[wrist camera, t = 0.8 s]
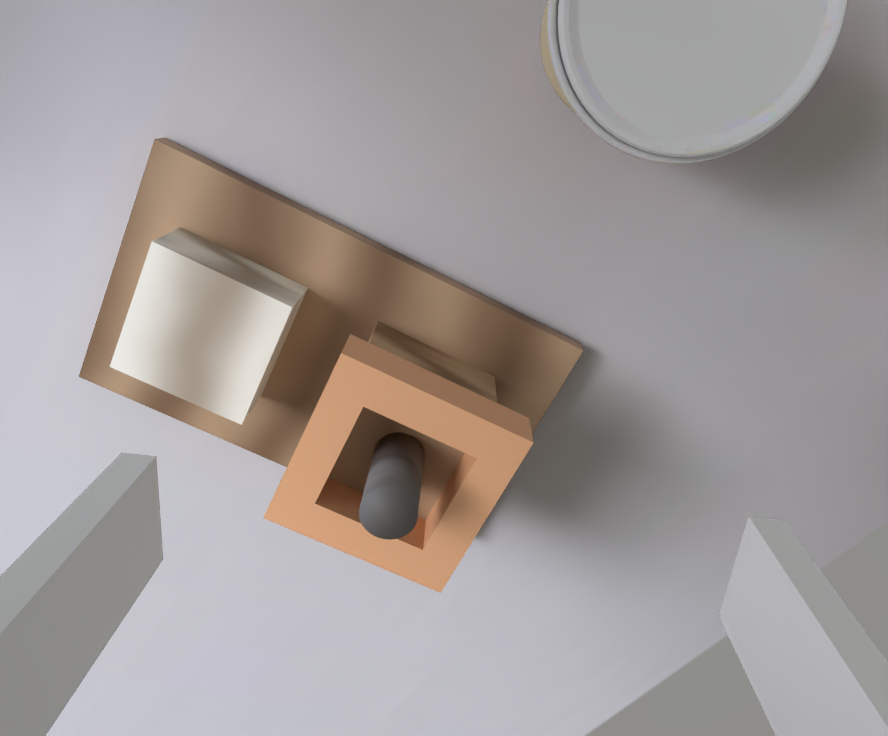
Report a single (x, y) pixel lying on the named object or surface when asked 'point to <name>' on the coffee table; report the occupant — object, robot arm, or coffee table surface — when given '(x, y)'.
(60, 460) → the coffee table surface
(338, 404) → the square frame
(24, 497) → the coffee table surface
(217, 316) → the stand
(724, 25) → the coffee cup
